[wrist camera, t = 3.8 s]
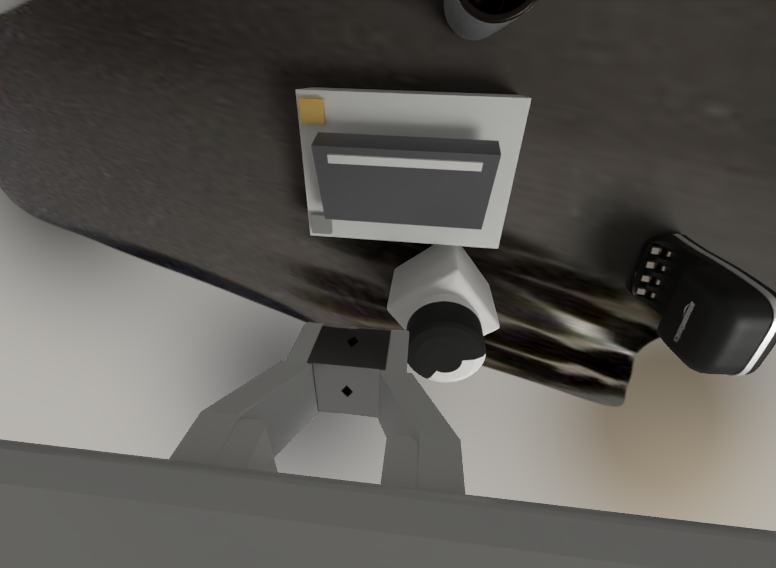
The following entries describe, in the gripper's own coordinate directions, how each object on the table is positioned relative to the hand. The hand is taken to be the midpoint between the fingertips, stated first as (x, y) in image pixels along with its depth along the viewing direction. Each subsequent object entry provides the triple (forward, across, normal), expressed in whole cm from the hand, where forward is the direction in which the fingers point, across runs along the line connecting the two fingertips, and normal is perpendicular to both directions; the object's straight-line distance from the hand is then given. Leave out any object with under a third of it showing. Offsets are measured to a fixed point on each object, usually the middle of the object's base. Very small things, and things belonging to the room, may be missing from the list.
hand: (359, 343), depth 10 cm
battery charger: (+23, -23, +8) cm, 34 cm away
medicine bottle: (+23, -4, +11) cm, 26 cm away
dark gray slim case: (+17, 0, 0) cm, 17 cm away
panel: (+23, 0, 0) cm, 23 cm away
